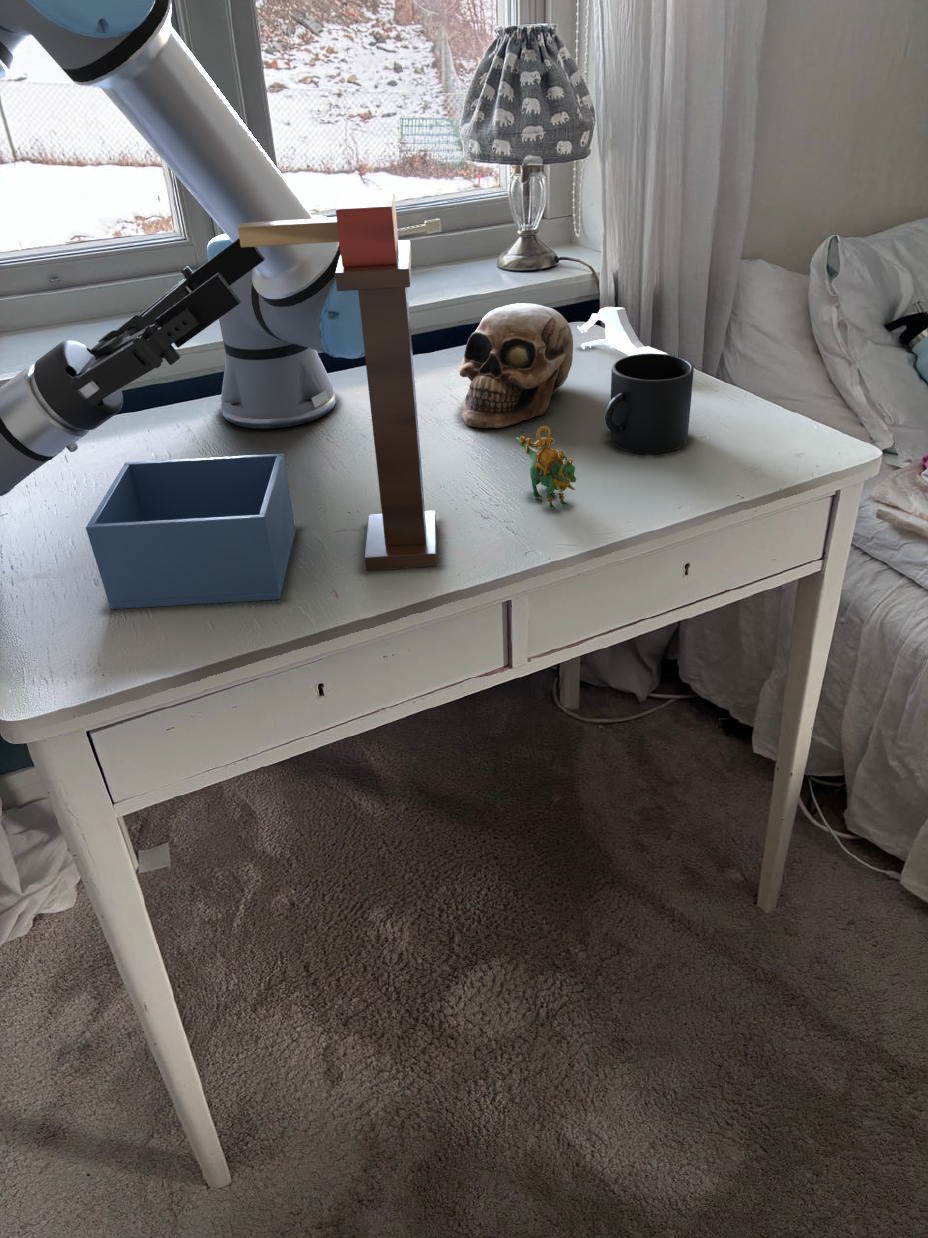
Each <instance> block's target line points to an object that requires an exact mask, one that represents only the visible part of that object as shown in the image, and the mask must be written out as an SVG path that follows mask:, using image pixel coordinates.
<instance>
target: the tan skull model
mask: <svg viewBox="0 0 928 1238" xmlns="http://www.w3.org/2000/svg"><path fill="white" fill-rule="evenodd" d="M573 354H574V336H573V333H572V329H571V326H570V324H569V322H568V321H567V319H566V318H565V317H564V316H563V315H562V314H561V313H560V312H559V311H558V310H556V309H554V308H552V307H549V306H545V305H541V304H537V303H528V302H517V303H512V304H511V303H510V304H507V305H503V306H499V307H497V308H494V309H492V310H490V311H489V312H487V313H486V314H485V315H484V316H483V317H482V319H481V321H480V323H479V325H478V327H476V330H475V331H474V332H472V333H471V335H470V336H469V337H468V339H467V342H466V344H465V348H464V355H463V358H462V360H461V363H460V367H459V370H458V372H459V376H460V377H461V378H467V379H469V380H470V384H469V388H468V391H467V393H466V395H465V397H464V401H463V405H462V411H461V412H460V413H461V417H462V420H463V422H464V423H465V425H467V426H468V427H470V426H471V427H474V428H477V429H501V428H507V427H510V426H513V425H517V424H518V423H520V422H522V421H529V420H531V419H532V418H534V417H540V416H543V415H544V414H545V413H546V412H547V409H548V408H549V405H550V401H551V397H552V395H553V394H555V393H556V391H557V390H558V389H559V388H560V387H562V386H563V385H564V383H565V382H566V380H567V378H568V377H569V373H570V371H571V368H572V365H573V357H574V355H573Z"/></svg>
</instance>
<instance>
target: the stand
mask: <svg viewBox="0 0 928 1238" xmlns="http://www.w3.org/2000/svg"><path fill="white" fill-rule="evenodd" d="M398 243H399V245H398V255H397V264H394V265H376V266H359V267H342V261H341V255H340V258H339V262H338V265H337V268H336V272H335V278H336V287H337V291H354V290H358V295H359V304H360V314H361V323H362V332H363V342H364V351H365V356H364V359H365V368H366V377H367V378H366V379H367V387H368V388H367V389H368V394H369V395H368V396H369V404H370V405H369V406H370V416H371V422H372V423H371V424H372V434H373V443H374V453H375V461H376V471H377V479H378V488H379V489H378V491H379V498H380V499H379V500H380V507H381V509H380V510H381V513H371V514H368V519H367V526H366V527H367V528H366V537H365V547H364V548H365V549H364V566H365V571H381V570H400V569H418V568H434V567H438V553H437V552H438V550H437V549H438V547H437V545H438V544H437V519H436V518H437V516H436V510H426V508H425V507H426V505H425V495H424V481H423V470H422V469H423V468H422V456H421V444H420V443H421V442H420V431H419V430H420V429H419V418H418V417H419V416H418V407H417V406H418V405H417V404H418V403H417V392H416V380H415V368H414V367H415V365H414V356H413V355H414V354H413V341H412V330H411V329H412V328H411V317H410V315H411V314H410V304H409V302H410V301H409V290H408V288H410V287H411V279H412V278H411V276H412V274H411V273H412V245H411V244H412V243H411V240H410V239H406V240H405V239H404V240H398Z"/></svg>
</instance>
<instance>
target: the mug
mask: <svg viewBox="0 0 928 1238" xmlns="http://www.w3.org/2000/svg"><path fill="white" fill-rule="evenodd" d="M667 354H668V353H667ZM667 354H652V353H651V354H637V355H631V356H629V355H627V356H624V357H621V358H619V359H617V360H616V361H614V362H613V363H612V366H611V375H610V376H611V377H610V378H611V379H610V399H609V402H608V405H607V406H606V409H605V413H604V424H605V426H606V428H607V430H608V437H609V440H610V442H611V443H612V444H613V446H615V447H616V448H619V449H621V450H624V451H627V452H630V453H635V454H645V455H646V454H647V455H648V454H652V455H653V454H663V453H669V452H673V451H676V450H679V449H680V448H681V447H683V446H684V445H685V443H687V440H688V438H689V429H690V428H689V426H690V418H691V406H692V396H693V395H692V394H693V384H694V383H693V382H694V372H695V367H694V365H693V364H692V362H691V361H689V360H687V359H686V358H683V357H681V356H676V355H672V354H668V355H667Z"/></svg>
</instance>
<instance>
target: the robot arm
mask: <svg viewBox="0 0 928 1238" xmlns="http://www.w3.org/2000/svg"><path fill="white" fill-rule="evenodd" d="M172 2H173V1H172V0H0V79H4V78H6V77H8V75H9V72H10V69H11V66H12V63H13V61H14V59H15V56H16V55H17V53H18V51H19V49H20V48H21V47H22V46H23V44H24V43H25V42H26V41H27V40H28V39H29V38H30V37H31V36H32V37H33V38H34V39H35V40H36V41H37V42H38V43H39V45H40V46H41V47H42V48H43V49H44V50H45V52H46V53H47V54H48V55H49V56H50V57H51V58H52V59H53V60H54V62H55V63H56V64H57V65H58V66H59V68H61V70H62V71H63V72H64V73H65V74H66V75H67V76H68V77H69V79H70V80H71V81H72V82H73V83H74V84H77V85H79V86H85V87H93V88H94V87H96V88H99V89H101V90H102V91H103V93H104V94H105V95H106V96H107V97H108V98H109V99H110V101H111V102H112V103H113V104H114V105H115V106H116V108H117V109H118V110H119V111H120V112H121V113H122V115H123V116H124V117H125V119H127V121H128V122H129V123H130V124H131V125H132V126H133V128H134V129H135V130H136V131H137V133H139V134H140V136H141V137H142V138H143V139H144V141H145V142H146V143H147V144H148V145H149V146H150V147H151V149H152V150H153V151H154V152H155V153H156V154H157V156H158V157H159V158H160V160H162V162H164V164H165V165H166V166H167V167H168V169H169V170H170V171H171V172H172V174H174V175H175V176H176V177H177V179H178V180H179V182H180V183H182V185H183V186H184V187H185V188H186V189H187V191H188V192H189V193H190V194H191V195H192V197H193V198H194V199H195V200H196V201H197V202H198V204H199V205H200V206H201V207H202V208H203V209H204V211H205V212H206V213H207V214H208V215H209V217H210V218H211V219H212V220H213V221H214V222H215V224H217V226H218V227H219V228H220V229H221V231H223V234H219V235H217V236H215V237H213V238H212V239H211V240H210V241H208V244H207V246H206V257H207V261H206V262H205V263H203V264H202V265H201V266H199V267H198V268H197V269H195V270H194V271H192V269H191V268H190V267H189V266H186V267H184V268H183V269H182V270H180V272H181V273H182V275H183V279H181V280H180V281H178V282H177V283H176V284H175V285H174V286H172V287H171V288H170V289H168V291H167V292H165V293H163V294H162V295H161V296H159V298H157V299H156V300H155V301H154V302H153V303H151V304H150V305H149V306H148V307H146V308H145V309H144V310H143V311H141V312H140V313H139V314H137V315H136V314H135V315H133V316H131V317H129V318H128V319H127V320H126V321H125V322H123V323H122V324H121V325H120V326H119V327H118V328H116V329H113V330H111V331H108V332H107V333H105V335H103V336H102V337H101V338H100V339H99V340H98V341H97V342H98V343H97V344H95V345H93V347H91V348H89V347H87V346H86V345H85V344H83V343H80V342H78V341H75V340H63V341H61V342H60V343H58V344H57V345H55V346H54V347H53V348H52V349H50V350H49V351H48V352H46V353H45V354H43V355H41V357H40V358H39V359H37V360H36V361H35V363H33V364H30V365H28V366H26V367H25V368H24V369H23V370H21V371H20V372H19V373H17V374H16V375H15V376H13V377H12V378H11V379H9V380H8V381H7V382H5V383H4V384H3V385H2V386H0V497H3V496H5V495H7V494H8V493H11V491H12V490H13V489H14V488H15V487H16V486H17V485H18V484H20V483H21V482H22V481H24V480H25V479H26V478H28V477H29V476H30V475H32V473H34V472H35V471H36V470H38V469H39V468H40V467H42V466H44V465H45V464H46V463H47V462H48V461H51V460H53V459H54V458H55V457H57V456H58V455H59V454H61V453H63V451H64V450H65V448H66V449H67V450H68V451H69V452H70V453H75V452H76V451H77V450H78V449H79V445H78V443H77V441H79V440H81V439H82V438H83V437H84V436H86V435H87V434H88V433H89V431H93V430H96V429H97V428H99V427H100V426H101V425H103V424H104V423H106V422H107V421H109V420H110V419H111V418H113V417H114V416H115V415H117V414H118V413H120V411H121V410H122V408H123V405H124V394H123V390H122V388H123V387H125V386H127V385H129V384H131V383H133V382H135V380H137V379H139V378H142V376H144V375H146V374H148V373H150V372H151V371H153V370H154V369H159V368H160V367H161V366H162V363H163V362H164V360H165V361H166V362H167V363H168V365H169V366H172V365H174V364H175V363H176V362H177V361H178V360H180V359H181V357H182V356H181V354H180V353H179V352H178V351H177V350H176V348H177V349H179V348H180V347H182V346H183V345H184V344H186V343H187V342H189V341H190V340H192V339H193V338H194V337H195V336H197V335H198V334H199V333H201V332H203V331H204V330H205V329H206V328H208V327H209V326H211V325H212V324H214V323H215V322H217V321H219V327H220V332H221V337H222V342H223V347H224V352H225V365H224V373H223V378H222V379H223V380H222V385H221V395H220V403H221V404H220V406H221V410H222V417H224V419H225V420H226V421H227V422H229V423H231V424H233V425H235V426H239V427H242V428H248V429H259V430H260V429H261V430H262V429H264V430H265V429H267V430H268V429H269V430H270V429H280V428H288V427H293V426H298V425H303V424H306V423H309V422H312V421H315V420H317V419H319V418H321V417H323V416H325V415H326V414H328V413H329V412H330V411H331V410H333V409H334V407H335V405H336V395H335V389H334V385H333V383H332V380H331V378H330V376H329V374H328V372H327V370H326V368H325V366H324V364H323V362H322V359H321V357H320V356H319V354H318V352H322V353H325V354H327V355H328V356H330V357H333V358H337V359H338V358H344V359H351V360H353V359H359V358H363V357H365V351H364V342H363V332H362V323H361V314H360V304H359V295H358V290H354V291H337V287H336V278H335V272H336V268H337V265H338V262H339V258H340V255H341V252H340V243H339V242H328V243H311V244H293V245H276V246H259V247H241V245H240V239H239V233H238V227H239V225H240V224H241V223H250V222H267V221H285V220H302V219H319V218H328V217H327V216H323V215H312V214H311V211H309V209H308V208H307V207H306V205H305V204H304V203H303V201H302V200H301V199H300V198H299V195H298V194H297V193H296V192H295V190H294V188H292V186H291V185H290V184H289V183H288V181H287V180H286V178H285V177H284V176H283V174H282V173H281V171H280V170H279V169H278V168H277V166H276V165H275V164H274V162H273V161H272V160H271V158H270V157H269V155H268V154H267V152H266V151H265V150H264V149H263V147H262V146H261V144H260V143H259V142H258V140H257V139H256V138H255V137H254V135H253V134H252V132H251V131H250V130H249V128H248V127H247V125H246V124H245V123H244V122H243V120H242V119H241V118H240V116H239V115H238V113H237V112H236V110H234V108H233V107H232V105H231V104H230V103H229V101H228V100H227V99H226V97H225V96H224V95H223V93H222V92H221V90H220V89H219V88H218V87H217V85H216V84H215V82H214V81H213V80H212V78H211V77H210V75H209V74H208V73H207V71H206V70H205V69H204V67H203V66H202V65H201V64H200V62H199V61H198V60H197V58H196V57H195V55H194V54H193V52H192V51H191V50H190V49H189V47H188V46H187V44H186V43H185V42H184V41H183V39H182V38H181V36H180V35H179V33H178V32H177V30H175V28H174V27H173V25H172V23H171V17H172V5H173V4H172ZM188 289H189V290H188ZM173 345H175V347H176V348H175V347H174V346H173Z"/></svg>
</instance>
